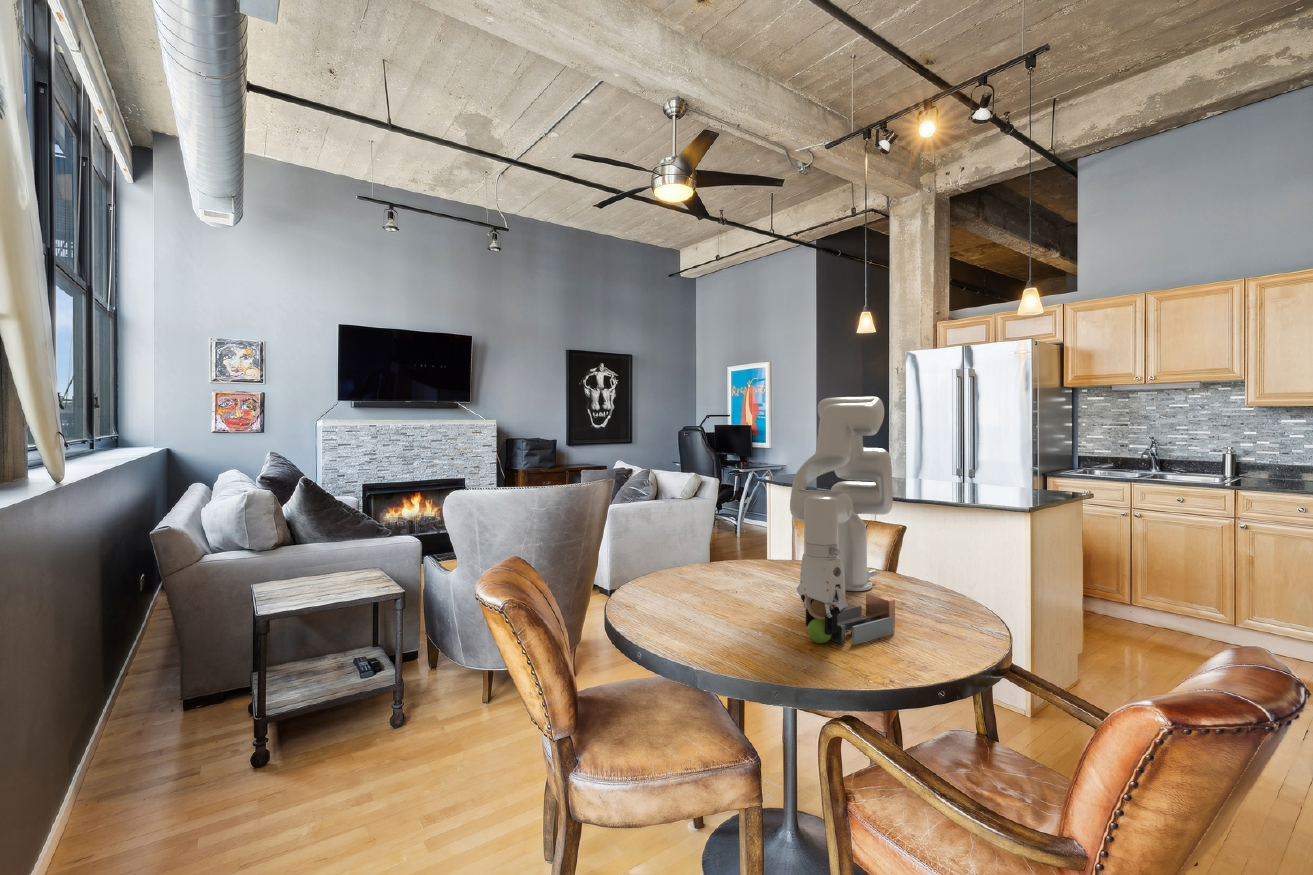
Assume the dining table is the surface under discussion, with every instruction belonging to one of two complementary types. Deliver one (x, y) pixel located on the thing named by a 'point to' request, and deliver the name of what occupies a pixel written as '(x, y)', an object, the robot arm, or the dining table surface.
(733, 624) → the dining table surface
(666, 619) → the dining table surface
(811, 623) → the snail figurine
